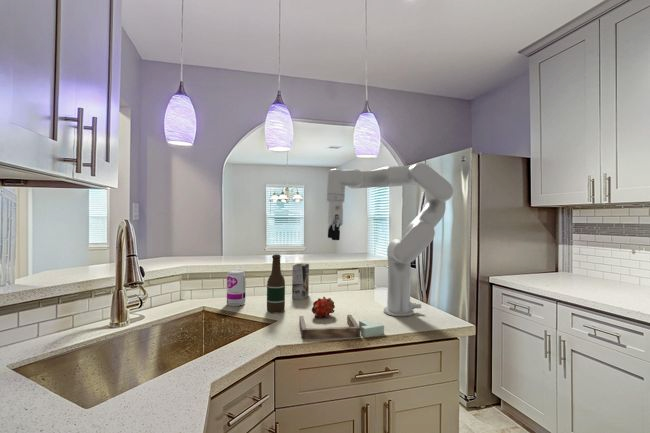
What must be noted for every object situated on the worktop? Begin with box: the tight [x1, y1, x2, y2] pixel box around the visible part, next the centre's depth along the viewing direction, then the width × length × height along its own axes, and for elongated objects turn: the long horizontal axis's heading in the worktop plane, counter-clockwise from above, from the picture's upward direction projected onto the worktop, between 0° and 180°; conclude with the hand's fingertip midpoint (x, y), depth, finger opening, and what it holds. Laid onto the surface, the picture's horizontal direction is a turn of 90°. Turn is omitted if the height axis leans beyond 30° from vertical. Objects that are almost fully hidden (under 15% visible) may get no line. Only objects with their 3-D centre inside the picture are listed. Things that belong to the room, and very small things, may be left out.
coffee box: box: [291, 263, 310, 300], centre depth 176 cm, size 9×6×16 cm
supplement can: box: [226, 269, 247, 307], centre depth 161 cm, size 8×8×15 cm
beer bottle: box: [266, 254, 286, 314], centre depth 151 cm, size 8×8×24 cm
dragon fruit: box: [311, 296, 336, 319], centre depth 144 cm, size 8×8×12 cm
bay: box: [298, 314, 361, 340], centre depth 128 cm, size 20×16×3 cm
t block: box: [358, 319, 385, 338], centre depth 127 cm, size 8×8×3 cm
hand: (333, 238), depth 150 cm, fingers open, 9 cm apart
